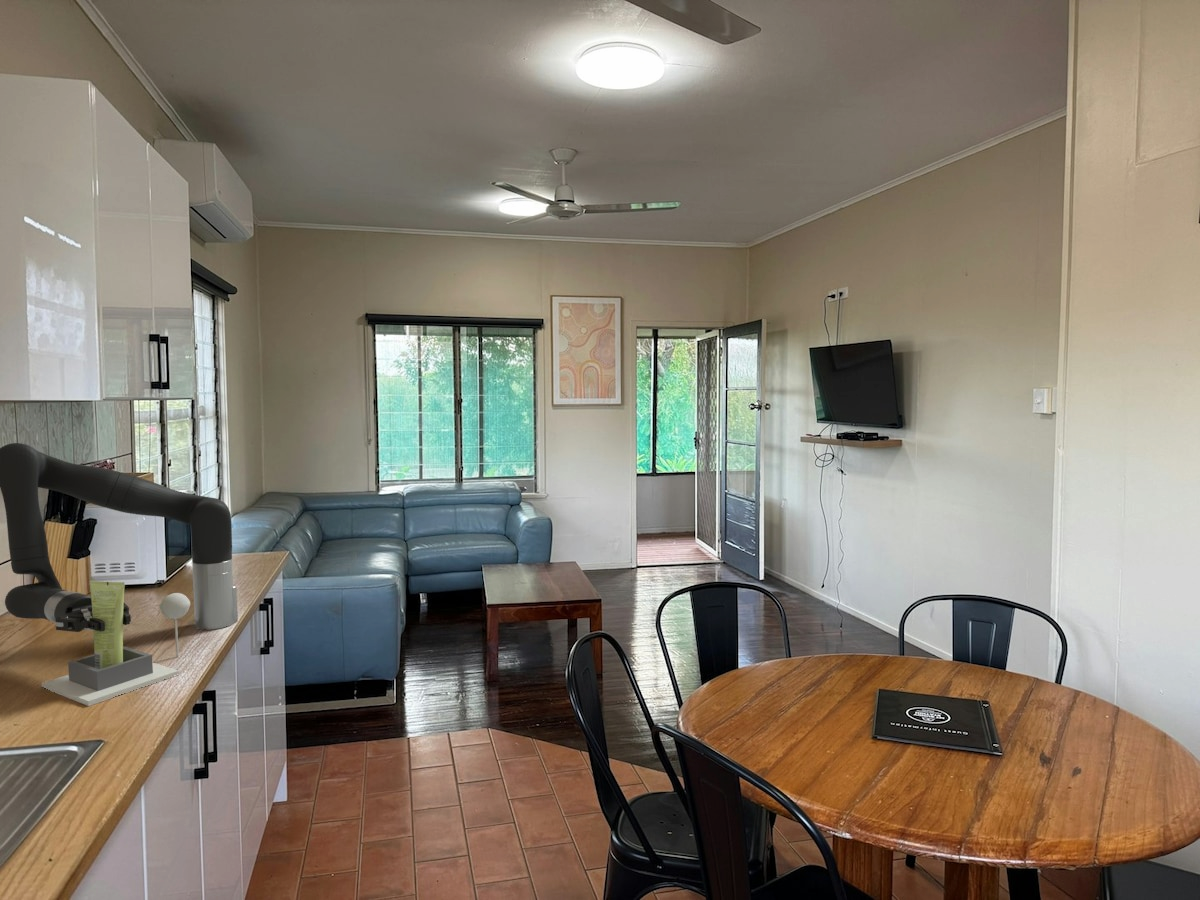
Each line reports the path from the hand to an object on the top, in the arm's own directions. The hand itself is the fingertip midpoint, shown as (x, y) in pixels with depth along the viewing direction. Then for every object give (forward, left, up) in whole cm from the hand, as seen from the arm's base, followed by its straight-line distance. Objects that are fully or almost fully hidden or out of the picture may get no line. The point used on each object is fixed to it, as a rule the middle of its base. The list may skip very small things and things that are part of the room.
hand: (115, 623), depth 155 cm
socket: (0, -3, -13) cm, 13 cm away
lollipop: (-15, -5, -13) cm, 21 cm away
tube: (0, -3, -11) cm, 12 cm away
